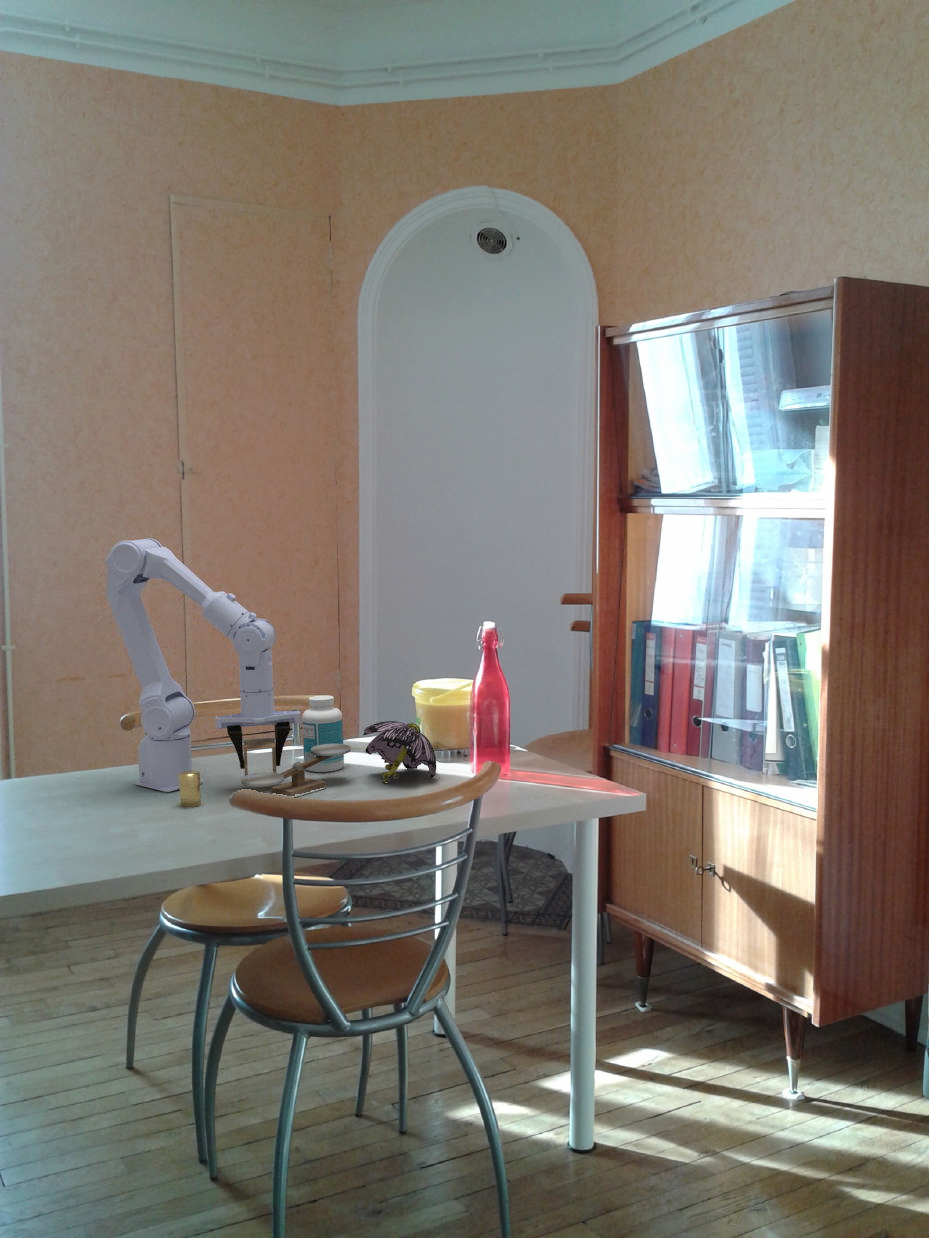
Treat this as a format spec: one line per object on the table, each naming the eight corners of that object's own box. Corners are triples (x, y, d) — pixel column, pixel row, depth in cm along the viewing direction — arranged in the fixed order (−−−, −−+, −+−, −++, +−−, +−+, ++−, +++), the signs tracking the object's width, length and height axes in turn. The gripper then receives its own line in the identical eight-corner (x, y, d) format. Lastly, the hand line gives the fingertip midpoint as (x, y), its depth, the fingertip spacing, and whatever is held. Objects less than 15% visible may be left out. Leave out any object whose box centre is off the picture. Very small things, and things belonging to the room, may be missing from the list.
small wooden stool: (245, 782, 192) (243, 746, 192) (244, 774, 198) (243, 739, 197) (276, 779, 193) (275, 744, 193) (275, 772, 199) (274, 737, 198)
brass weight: (176, 805, 186) (174, 773, 185) (192, 800, 188) (191, 769, 188) (188, 808, 184) (187, 776, 183) (205, 804, 186) (204, 772, 186)
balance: (233, 803, 186) (231, 767, 186) (331, 774, 204) (330, 741, 203) (261, 810, 182) (260, 773, 181) (359, 780, 200) (358, 746, 199)
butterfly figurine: (460, 727, 197) (379, 709, 192) (448, 792, 194) (366, 776, 190) (433, 733, 210) (358, 717, 206) (422, 795, 207) (345, 779, 203)
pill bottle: (347, 763, 212) (345, 693, 211) (339, 773, 205) (337, 701, 203) (309, 763, 213) (306, 693, 211) (299, 773, 206) (297, 701, 204)
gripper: (214, 696, 189) (218, 774, 190) (300, 691, 192) (303, 768, 193) (213, 689, 195) (217, 765, 197) (297, 684, 199) (300, 758, 200)
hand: (260, 766), depth 196 cm, fingers closed on small wooden stool, 5 cm apart
